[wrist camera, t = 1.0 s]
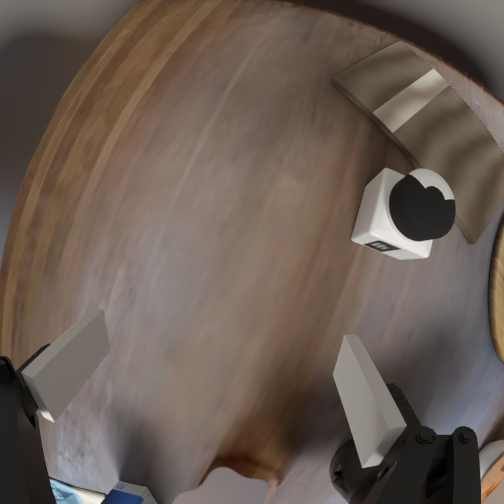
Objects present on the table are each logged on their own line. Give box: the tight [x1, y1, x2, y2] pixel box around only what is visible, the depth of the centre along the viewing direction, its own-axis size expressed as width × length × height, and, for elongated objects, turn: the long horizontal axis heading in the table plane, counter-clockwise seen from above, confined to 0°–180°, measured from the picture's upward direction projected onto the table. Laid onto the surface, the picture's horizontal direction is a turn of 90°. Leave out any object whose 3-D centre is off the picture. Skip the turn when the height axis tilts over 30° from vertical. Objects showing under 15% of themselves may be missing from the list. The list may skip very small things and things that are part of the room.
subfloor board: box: [331, 41, 504, 244], centre depth 31 cm, size 32×20×2 cm, turn 40°
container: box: [351, 168, 456, 260], centre depth 26 cm, size 8×8×13 cm
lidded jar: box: [479, 440, 504, 487], centre depth 22 cm, size 11×11×9 cm
